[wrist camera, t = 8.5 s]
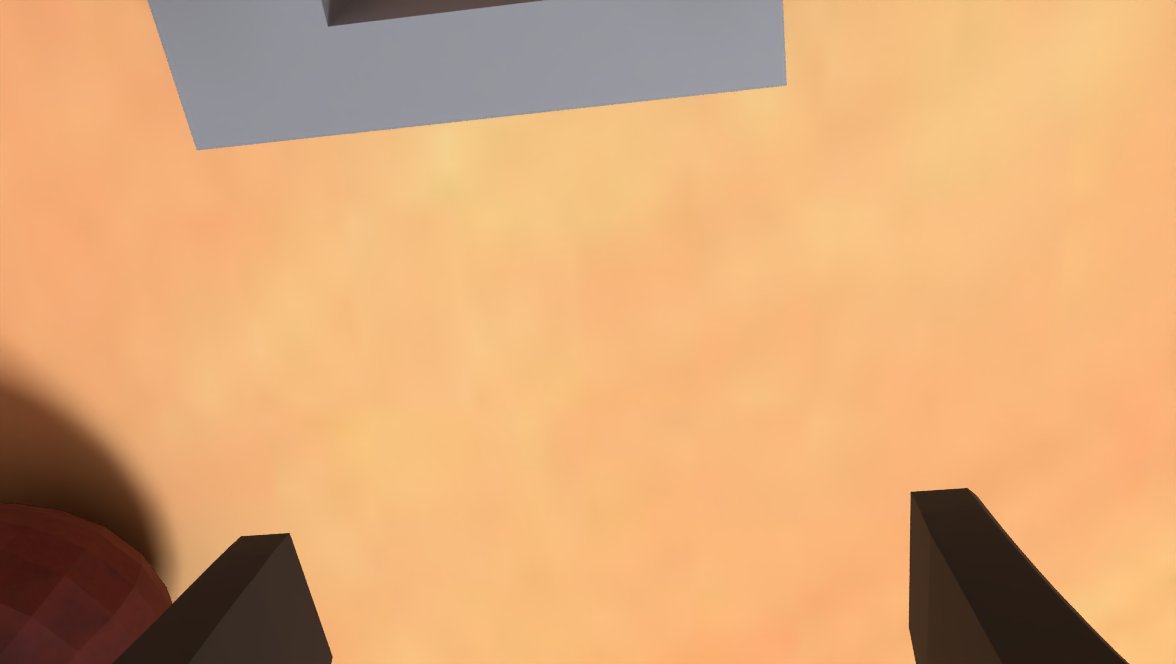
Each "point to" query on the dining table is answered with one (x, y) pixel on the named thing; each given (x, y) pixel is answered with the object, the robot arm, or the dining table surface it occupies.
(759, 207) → the dining table surface
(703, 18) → the socket block
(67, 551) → the potato
